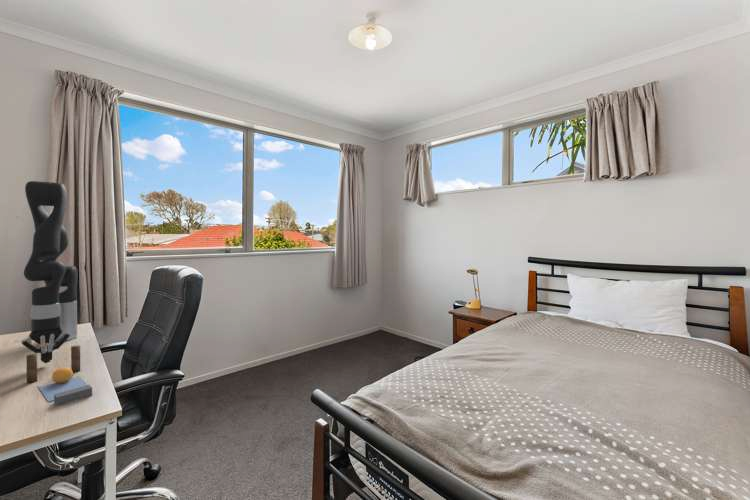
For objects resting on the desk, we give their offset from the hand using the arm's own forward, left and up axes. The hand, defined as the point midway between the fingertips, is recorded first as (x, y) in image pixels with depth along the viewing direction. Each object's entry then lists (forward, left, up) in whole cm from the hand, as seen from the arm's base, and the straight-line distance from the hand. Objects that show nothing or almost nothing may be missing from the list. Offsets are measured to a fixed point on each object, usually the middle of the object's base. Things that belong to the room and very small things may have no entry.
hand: (46, 362), depth 119 cm
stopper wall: (+37, 0, -2) cm, 37 cm away
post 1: (+13, -5, -2) cm, 14 cm away
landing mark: (+27, 0, -2) cm, 27 cm away
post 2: (+13, +6, -2) cm, 14 cm away
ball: (+21, 0, +1) cm, 21 cm away
